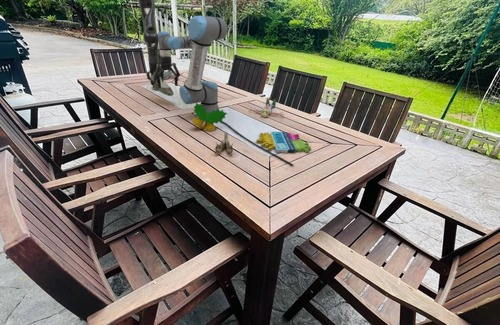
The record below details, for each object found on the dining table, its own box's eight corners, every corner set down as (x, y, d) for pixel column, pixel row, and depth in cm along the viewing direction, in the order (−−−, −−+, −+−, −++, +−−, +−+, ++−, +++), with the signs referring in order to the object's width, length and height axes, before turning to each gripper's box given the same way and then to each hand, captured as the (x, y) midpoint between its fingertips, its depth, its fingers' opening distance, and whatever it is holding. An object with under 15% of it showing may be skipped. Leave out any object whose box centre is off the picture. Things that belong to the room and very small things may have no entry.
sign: (313, 150, 142) (258, 149, 139) (312, 153, 143) (258, 152, 140) (301, 132, 164) (254, 130, 161) (301, 134, 165) (254, 133, 162)
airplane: (146, 75, 285) (145, 65, 280) (175, 73, 298) (174, 64, 293) (152, 84, 257) (151, 73, 252) (184, 82, 270) (183, 72, 265)
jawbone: (234, 135, 144) (233, 125, 135) (233, 160, 138) (232, 151, 129) (217, 135, 144) (216, 125, 135) (216, 160, 138) (214, 150, 129)
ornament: (218, 133, 171) (224, 110, 169) (221, 134, 163) (227, 111, 161) (186, 125, 162) (192, 101, 160) (189, 126, 155) (195, 101, 153)
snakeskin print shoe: (165, 97, 191) (164, 84, 186) (149, 89, 205) (148, 77, 200) (176, 95, 196) (175, 82, 191) (159, 88, 210) (158, 76, 206)
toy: (288, 100, 208) (284, 110, 182) (287, 109, 211) (283, 120, 186) (254, 96, 213) (245, 105, 187) (254, 104, 216) (245, 115, 190)
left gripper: (160, 60, 203) (162, 82, 211) (142, 61, 193) (145, 84, 202) (165, 62, 198) (167, 84, 206) (147, 63, 189) (150, 87, 197)
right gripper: (178, 54, 192) (180, 83, 203) (145, 56, 176) (149, 87, 187) (184, 56, 188) (185, 85, 198) (151, 58, 172) (154, 90, 182)
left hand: (156, 84), depth 204 cm, fingers closed on snakeskin print shoe, 5 cm apart
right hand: (168, 86), depth 192 cm, fingers open, 13 cm apart
